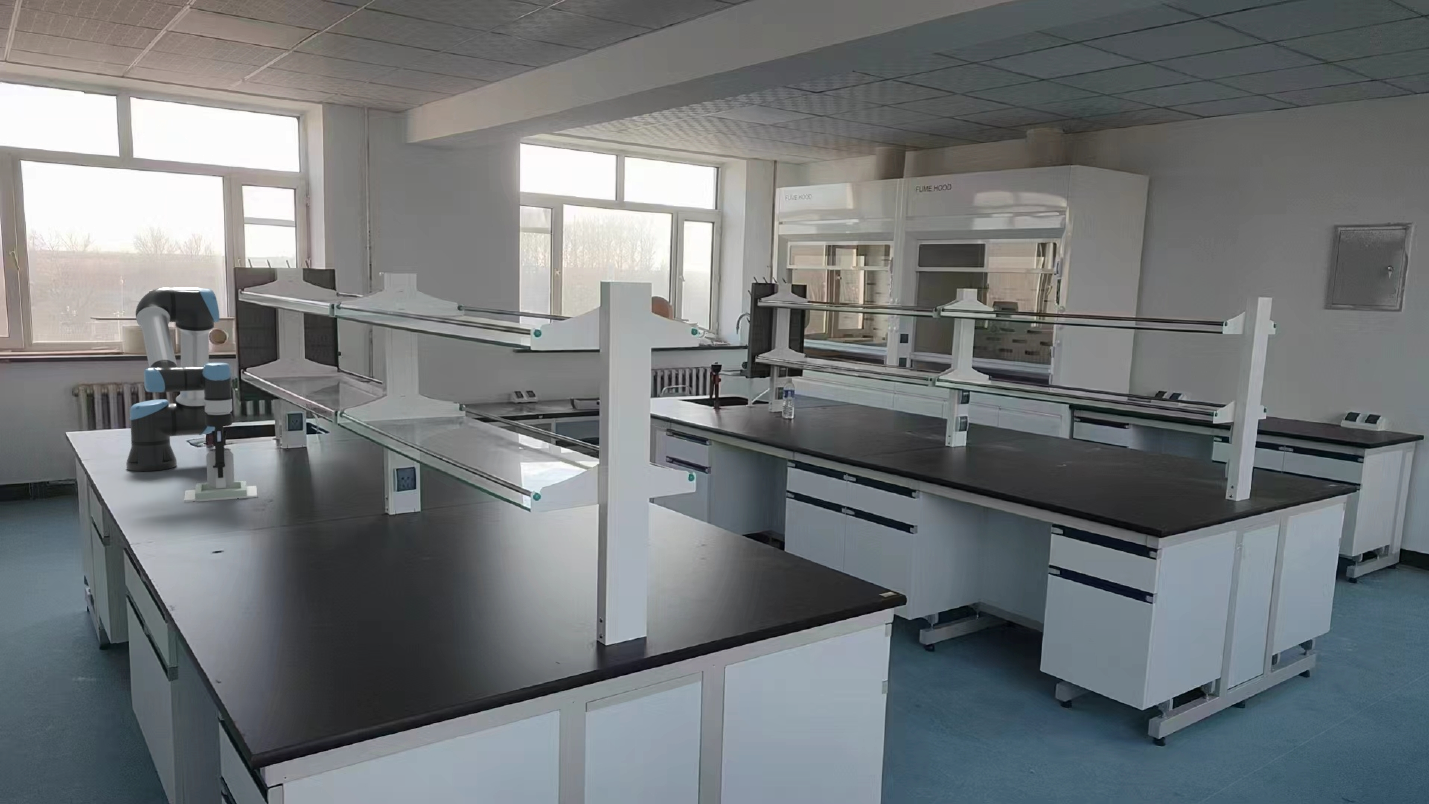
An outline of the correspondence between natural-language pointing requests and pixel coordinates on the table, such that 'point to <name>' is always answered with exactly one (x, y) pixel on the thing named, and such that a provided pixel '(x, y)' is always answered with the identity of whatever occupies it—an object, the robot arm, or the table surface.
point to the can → (228, 468)
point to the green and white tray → (220, 492)
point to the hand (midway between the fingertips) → (221, 484)
